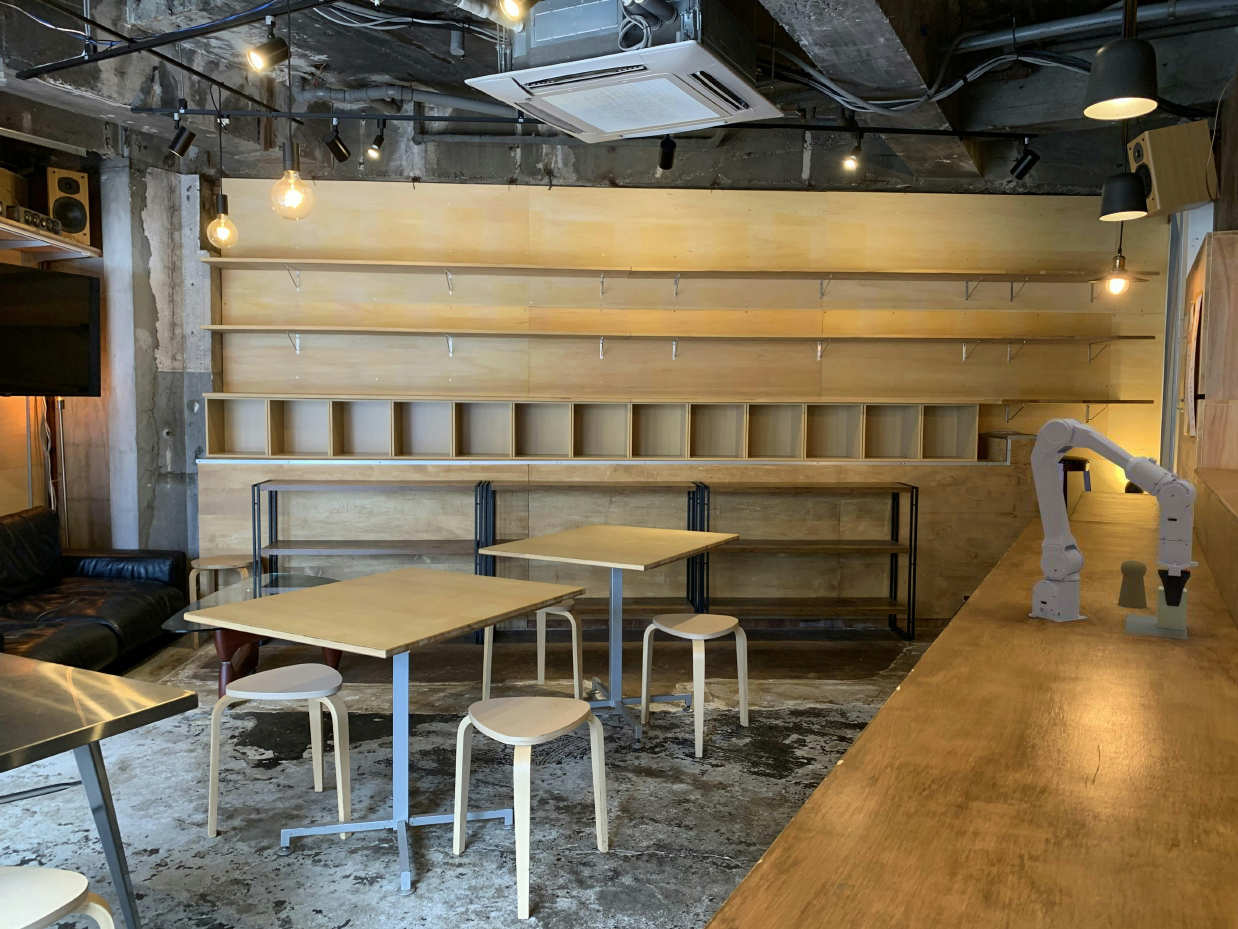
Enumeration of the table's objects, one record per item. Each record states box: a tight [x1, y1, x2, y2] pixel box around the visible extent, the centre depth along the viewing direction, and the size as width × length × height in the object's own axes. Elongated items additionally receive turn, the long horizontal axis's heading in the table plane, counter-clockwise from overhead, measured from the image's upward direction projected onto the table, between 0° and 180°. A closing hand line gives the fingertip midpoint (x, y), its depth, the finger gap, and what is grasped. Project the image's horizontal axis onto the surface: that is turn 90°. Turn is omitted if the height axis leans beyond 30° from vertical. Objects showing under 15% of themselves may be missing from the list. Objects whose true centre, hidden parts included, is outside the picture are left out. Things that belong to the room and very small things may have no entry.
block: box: [1157, 585, 1188, 630], centre depth 186 cm, size 4×5×8 cm
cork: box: [1117, 560, 1148, 610], centre depth 207 cm, size 6×6×11 cm
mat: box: [1123, 613, 1189, 641], centre depth 188 cm, size 20×11×1 cm, turn 149°
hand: (1172, 605), depth 181 cm, fingers closed
